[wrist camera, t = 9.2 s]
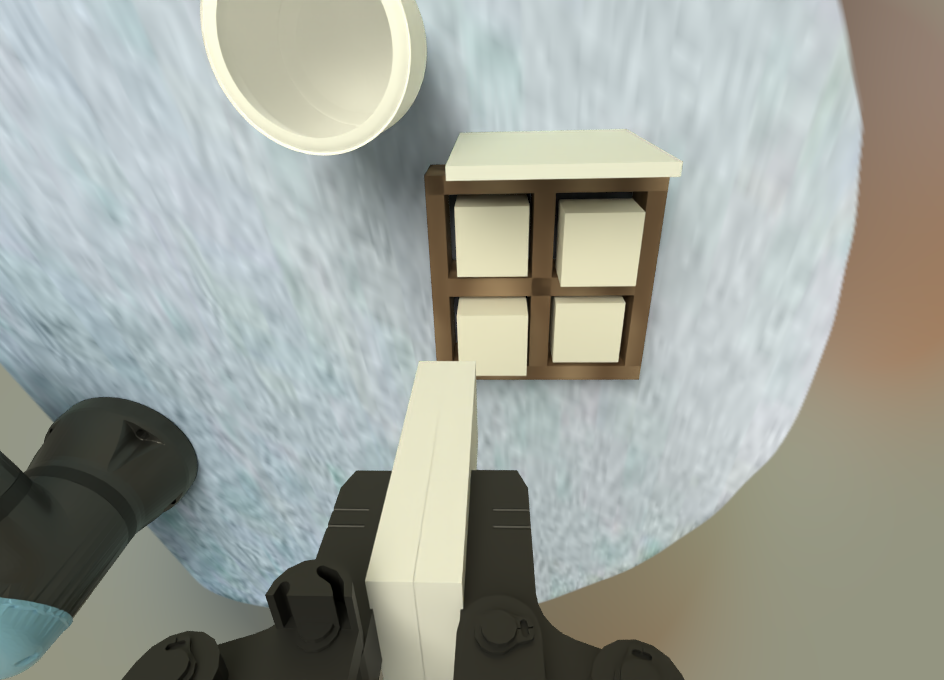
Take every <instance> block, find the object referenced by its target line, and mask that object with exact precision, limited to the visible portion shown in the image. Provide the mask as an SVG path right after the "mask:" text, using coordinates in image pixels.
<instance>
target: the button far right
mask: <svg viewBox="0 0 944 680" xmlns="http://www.w3.org/2000/svg"><path fill="white" fill-rule="evenodd" d="M625 304H626V303H625V301H624V299H623V297H622V295H608V296H551V304H550V324H549V345H550V350H551V355H552V361H553V362H618V359H619V351H620V343H621V335H622V327H623V320H624V312H625Z"/></svg>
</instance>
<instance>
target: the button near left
mask: <svg viewBox="0 0 944 680" xmlns="http://www.w3.org/2000/svg"><path fill="white" fill-rule="evenodd" d="M454 210H455V234H456V258H457V277H516V276H527V273H528V237H529V202H528V198H527V193H524V194H464V195H457V199H456V203H455V207H454Z"/></svg>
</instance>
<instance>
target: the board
mask: <svg viewBox="0 0 944 680" xmlns="http://www.w3.org/2000/svg"><path fill="white" fill-rule="evenodd" d="M445 166H446V165H430V167H429V168H428V170H427V172H426V174H425V175H424V181H425V196H426V210H427V225H428V240H429V255H430V269H431V284H432V299H433V314H434V328H435V343H436V358H437V361H459V356H458V342H456V334H455V312H454V297H477V296H528V303H527V310H528V337H527V371H526V376H476V380H614V379H639V375H640V369H641V362H642V355H643V349H644V342H645V336H646V329H647V323H648V316H649V310H650V303H651V297H652V290H653V283H654V277H655V270H656V264H657V257H658V251H659V244H660V238H661V231H662V225H663V218H664V211H665V205H666V198H667V192H668V185H669V179H670V177H639V178H583V179H528V180H472V181H446V170H445ZM631 191H633V195H632V198H633V199H634V201H635V202H636V203H637V204H638V205H639V206H640V207H641V208H642V209H643V210H644V211H645V212H646V213H645V220H644V228H643V235H642V242H641V250H640V257H639V264H638V272H637V279H636V286H590V287H561V286H560V282H559V279H558V275H557V272H556V268H555V266H556V259H553V242H554V223H555V203H556V193H572V192H631ZM512 193H531V197H530V232H529V259H528V273H527V276H516V277H457V260H452V247H451V226H450V204H449V195H452V194H512ZM608 295H622V297H623V299H624V301H625V303H626V304H625V312H624V320H623V327H622V335H621V343H620V351H619V359H618V362H553V361H552V355H551V350H550V345H549V342H548V339H549V320H550V300H551V296H608Z"/></svg>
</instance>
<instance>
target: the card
mask: <svg viewBox="0 0 944 680" xmlns="http://www.w3.org/2000/svg"><path fill="white" fill-rule="evenodd" d="M682 164H683V161H681V160H679V159H677V158H676V157H674V156H672V155H670V154H669V153H667V152H665V151H663V150H662V149H660V148H658V147H657V146H655V145H653V144H651V143H650V142H648V141H646V140H644V139H643V138H641V137H639V136H637V135H636V134H634V133H632V132H631V131H629V130H627V129H606V130H561V131H515V132H470V133H460V134H459V136H458V139H457V141H456V143H455V145H454V148H453V150H452V152H451V154H450V157H449V159H448V161H447V164H446V166H445V170H446V181H472V180H528V179H583V178H639V177H680V176H681V170H682Z"/></svg>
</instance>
